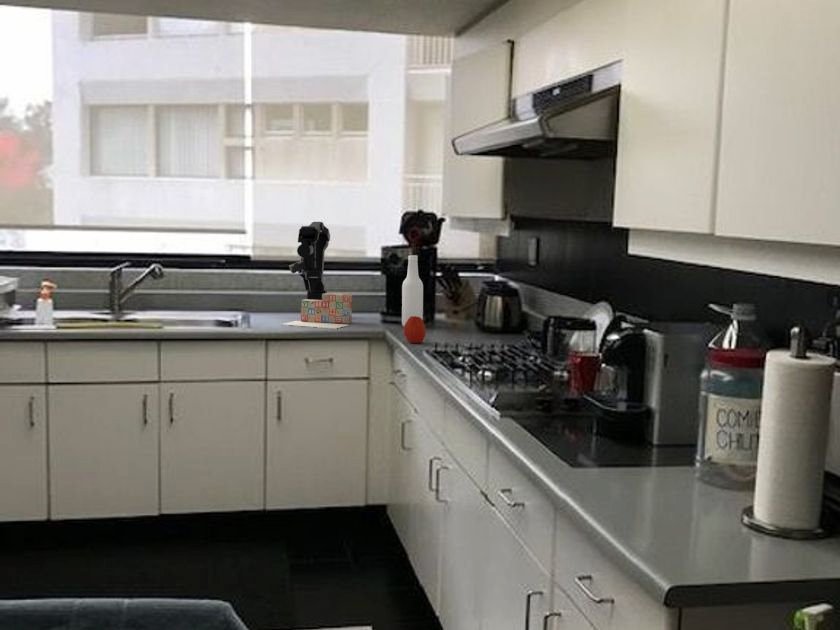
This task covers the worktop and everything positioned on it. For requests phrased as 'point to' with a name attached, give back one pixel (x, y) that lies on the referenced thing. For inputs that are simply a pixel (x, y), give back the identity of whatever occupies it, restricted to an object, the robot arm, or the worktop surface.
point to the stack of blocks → (328, 309)
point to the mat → (316, 324)
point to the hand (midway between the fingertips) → (309, 291)
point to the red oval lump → (414, 329)
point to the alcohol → (412, 292)
